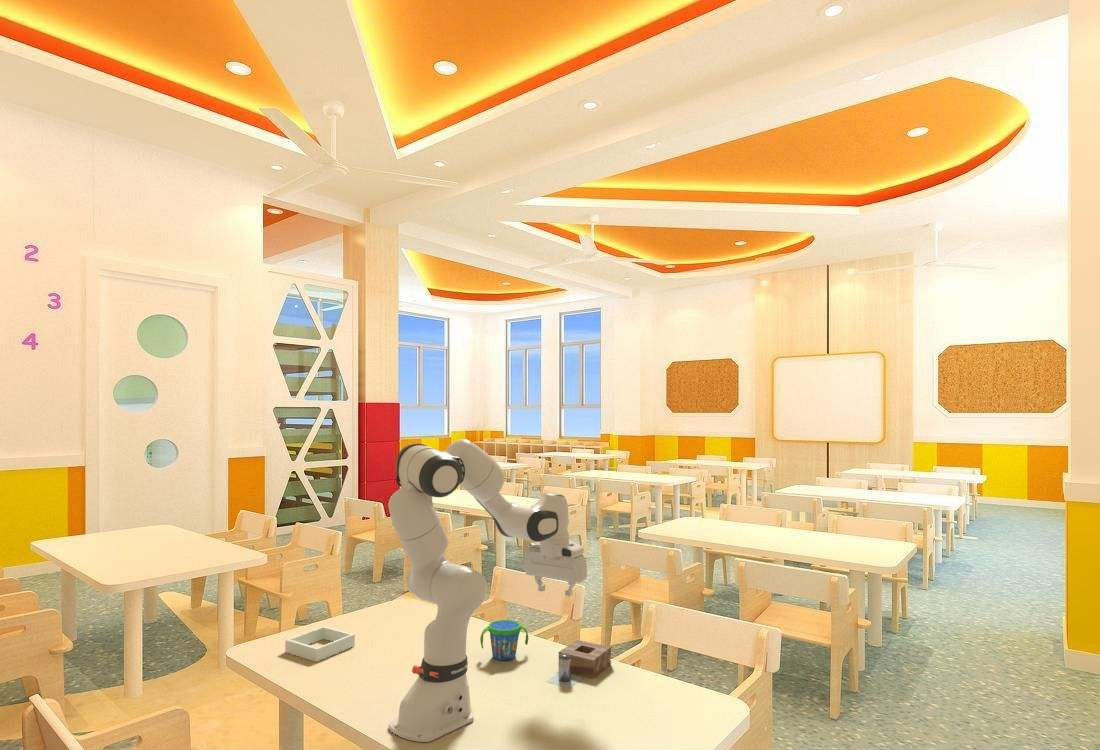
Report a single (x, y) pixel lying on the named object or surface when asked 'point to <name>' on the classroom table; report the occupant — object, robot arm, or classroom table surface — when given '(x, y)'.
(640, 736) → the classroom table surface
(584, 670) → the socket block
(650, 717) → the classroom table surface
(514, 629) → the snack cup
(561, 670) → the pin
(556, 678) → the mount plate
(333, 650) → the coaster tray
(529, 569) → the robot arm
